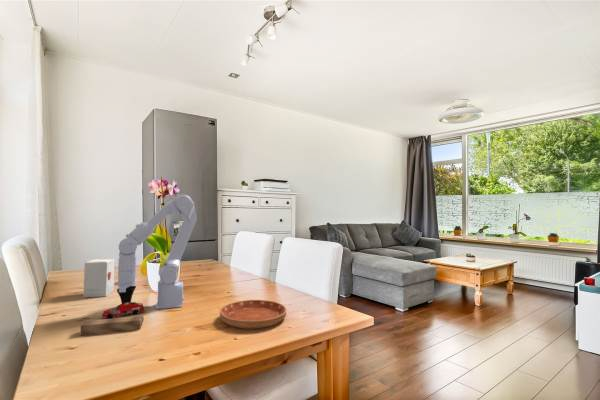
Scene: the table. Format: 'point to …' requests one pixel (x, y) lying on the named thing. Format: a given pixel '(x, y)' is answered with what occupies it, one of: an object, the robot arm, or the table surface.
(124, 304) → the race car
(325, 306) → the table surface
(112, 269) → the supplement box
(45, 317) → the table surface
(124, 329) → the chock stand
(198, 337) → the table surface
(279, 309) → the saucer
